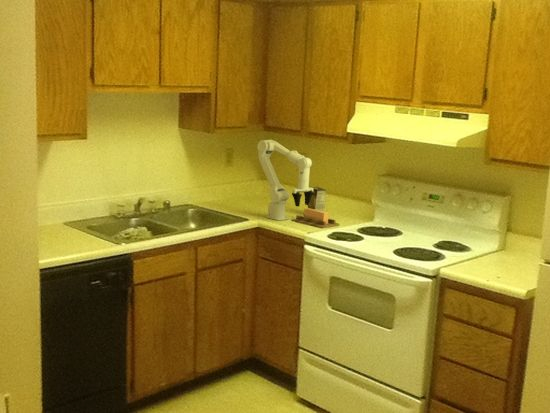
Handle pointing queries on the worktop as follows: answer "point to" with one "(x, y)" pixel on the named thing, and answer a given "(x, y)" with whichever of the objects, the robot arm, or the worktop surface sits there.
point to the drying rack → (315, 222)
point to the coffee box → (318, 199)
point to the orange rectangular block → (316, 214)
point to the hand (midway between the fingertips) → (302, 205)
